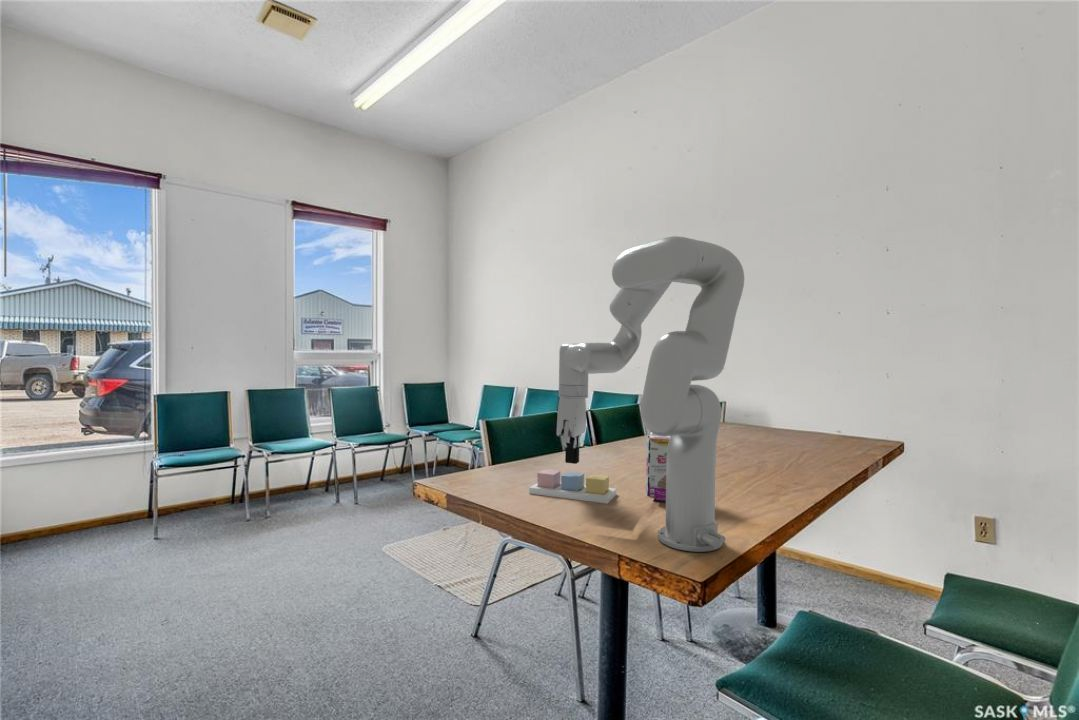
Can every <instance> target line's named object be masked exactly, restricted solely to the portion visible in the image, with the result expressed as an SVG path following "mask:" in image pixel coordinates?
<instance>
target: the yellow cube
mask: <svg viewBox="0 0 1079 720" xmlns="http://www.w3.org/2000/svg"><path fill="white" fill-rule="evenodd" d="M609 480H610V476H609V475H600V474H590V475H589V476H588V477H586V478H585V485H586V493H593V494H601V495H605V494H606V493H607V492H608V491H609V488H610V481H609Z"/></svg>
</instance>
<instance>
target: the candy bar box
mask: <svg viewBox="0 0 1079 720" xmlns="http://www.w3.org/2000/svg"><path fill="white" fill-rule="evenodd" d="M669 440H670V436H659V435H655V434H653V435H652V434H651V435H650V434H649V435H646V459H645V460H646V463H645V465H646V470H645V493H646V496H647V497H651V498H652V497H654V499H653V500H652V502H655V503H656V502H658V503H666V462H667V448H668V443H669Z"/></svg>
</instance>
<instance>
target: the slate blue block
mask: <svg viewBox="0 0 1079 720" xmlns="http://www.w3.org/2000/svg"><path fill="white" fill-rule="evenodd" d="M560 482H561V490H568V491H576V492H580V491H581V490H582V489H583V488H584V485H585V473H582V472H574V471H573V472H572V471H566V472H565V473H563V474H562V475H560Z"/></svg>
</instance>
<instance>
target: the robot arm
mask: <svg viewBox="0 0 1079 720" xmlns="http://www.w3.org/2000/svg"><path fill="white" fill-rule="evenodd" d="M611 277H612V280H613V283H614V284H615V285H616V286H617V287H618V288H619V290H618V292H617V293H616V294H615V296H614V298H613V299H612V300H611V302H610V304H609V311H610V314H611V315H612V317H613V318H614V319H615V320H616V321H617V322H618V323H619V324H620V328H619V330H618V332H617V334H616V335H615V336H614V338H613V339H612V341H610V342H584V343H583V342H582V343H563V344H561V345H560V347H559V351H558V352H559V353H558V355H559V360H558V361H559V362H558V366H559V367H558V398H559V400H558V407H557V409H558V410H557V417H556V419H557V420H556V436H557V437H562V436H563V439H562V442H563V443H564V447H565V455H564V456H565V457H564V458H565V459H564V461H565V463H566V464H574V465H575V464H578V463H579V462H580V444H581V437H582V435H583V434H584V433H585V432H586V430H587V429H586V428H587V406H586V405H587V404H586V403H587V402H586V399H588V398H589V375H592V374H593V375H595V374H614V373H617V372H619V371H621V370H623V368H625V366H626V365H627V364H628V363H629V362H630V361H631V359H632V357H634V355H635V354H636V352H638V350H639V347H640V343H641V338H642V324H643V323H644V321H645V319H646V318H648V316H649V314H650V313H651V311H652V310H654V307H655V306H656V304H658V302H659V301H660V299H661V298H662V297H663V295H664V294H665V293H666V292H667V290H668V289H669V287H670V286H671V285H672V283H679V284H686V285H694V286H695V285H696V286H699V287H700V291H699V293H698V294H697V295H696V297H695V298H694V301H693V302H692V304H691V306H690V307H691V308H690V310H689V315H688V320H687V323H686V328H685V330H675V331H670V332H668V333H665V334H664V335H662V337H660V338H659V339H658V340H657V342H655V345H654V346H653V348H652V351H651V354H650V358H649V362H648V367H647V372H646V376H645V382H644V386H643V392H642V397H641V402H640V414H641V420H642V422H643V424H644V426H645V428H646V429H647V430H648V431H649V432H650V433H652V434H653V435H656V436H670V440H669V443H668V448H667V462H666V502H665V526H663V527H660V529H658V531H657V538H658V540H659V542H660V543H662V544H664V545H665V546H668V547H671V548H672V549H673V548H674V549H676V550H680V551H687V552H693V553H694V552H695V553H704V552H706V553H707V552H712V551H716V550H719V549H720V548H721V547H722V546H723V544H724V543H725V542H726V537H725V535H723V534H720V533H718V531H719V530H718V529H719V528H718V527H719V526H718V525H719V524H718V523H716V520H715V518H716V515H715V514H716V512H715V511H716V508H715V507H716V466H717V465H716V464H717V463H716V462H717V440H718V435H719V428H720V424H721V418H722V406H721V402H720V399H719V397H718V396H717V394H716V393H715V392H714V391H713V390H712V389H710V388H709V387H708V386H704V385H700V384H692V381H693V382H694V381H695V382H697V381H707V380H712V379H714V378H716V377H718V376H719V375H721V373H722V372H723V370H724V368H725V365H726V362H727V357H728V352H729V348H730V344H731V340H732V335H733V330H734V326H735V321H736V316H737V311H738V308H739V305H740V301H741V299H742V296H743V291H744V287H745V273H744V269H743V265H742V263H741V262H740V260H739V259H738V257H737V256H736V255H735V254H734V253H733V252H731V251H730V250H729V249H727V248H725V247H723V246H721V245H719V244H715V243H712V242H708V241H703V240H698V239H695V238H694V239H693V238H689V237H684V236H677V235H676V236H675V235H674V236H668V237H663V238H660V239H657V240H654V241H651V242H646V243H643V244H639V245H637V246H633V247H630V248H627V249H626V250H624V251H623V252H621V253H620V254H619V255H618V256H617V258H616V259H615V261H614V263H613V266H612V270H611Z"/></svg>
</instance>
